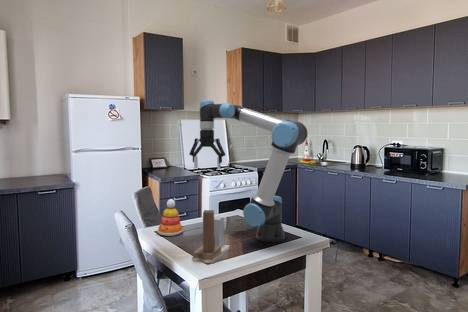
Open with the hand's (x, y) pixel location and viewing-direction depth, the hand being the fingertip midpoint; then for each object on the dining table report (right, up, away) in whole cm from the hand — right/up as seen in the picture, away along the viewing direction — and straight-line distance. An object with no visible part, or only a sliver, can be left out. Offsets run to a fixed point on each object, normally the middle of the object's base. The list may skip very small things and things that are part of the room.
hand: (207, 168), depth 191 cm
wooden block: (+3, -35, -32) cm, 48 cm away
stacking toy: (-21, -37, +6) cm, 43 cm away
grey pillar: (+7, -37, -21) cm, 43 cm away
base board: (+4, -39, -27) cm, 48 cm away
